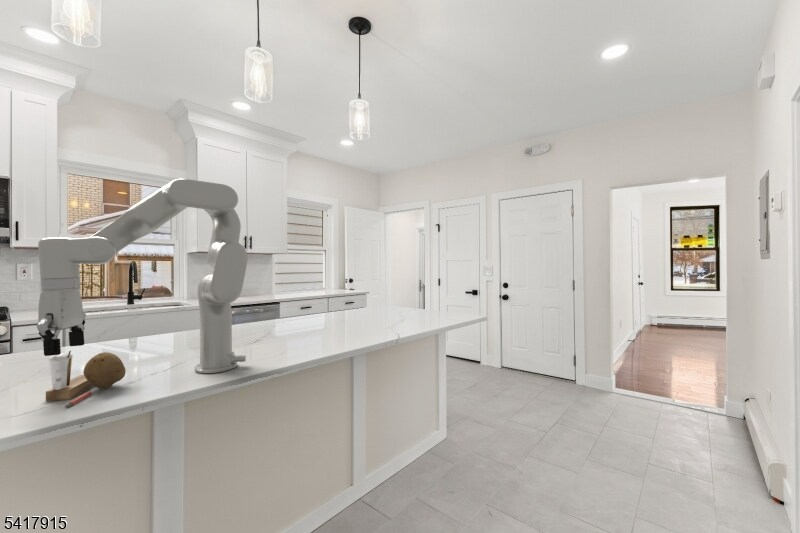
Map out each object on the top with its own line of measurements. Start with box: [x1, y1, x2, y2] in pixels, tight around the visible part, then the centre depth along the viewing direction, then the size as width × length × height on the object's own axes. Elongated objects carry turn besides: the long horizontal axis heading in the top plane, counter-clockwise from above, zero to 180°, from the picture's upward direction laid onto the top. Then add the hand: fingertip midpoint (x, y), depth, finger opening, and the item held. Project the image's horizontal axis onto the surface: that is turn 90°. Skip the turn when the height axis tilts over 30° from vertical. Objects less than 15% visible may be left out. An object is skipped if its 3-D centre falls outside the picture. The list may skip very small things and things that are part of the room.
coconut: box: [83, 351, 126, 390], centre depth 102 cm, size 9×9×10 cm
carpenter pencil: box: [64, 391, 92, 409], centre depth 92 cm, size 1×9×1 cm, turn 14°
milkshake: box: [48, 350, 73, 390], centre depth 94 cm, size 4×5×10 cm
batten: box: [45, 374, 95, 402], centre depth 100 cm, size 5×14×2 cm, turn 14°
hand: (65, 350), depth 95 cm, fingers open, 9 cm apart
